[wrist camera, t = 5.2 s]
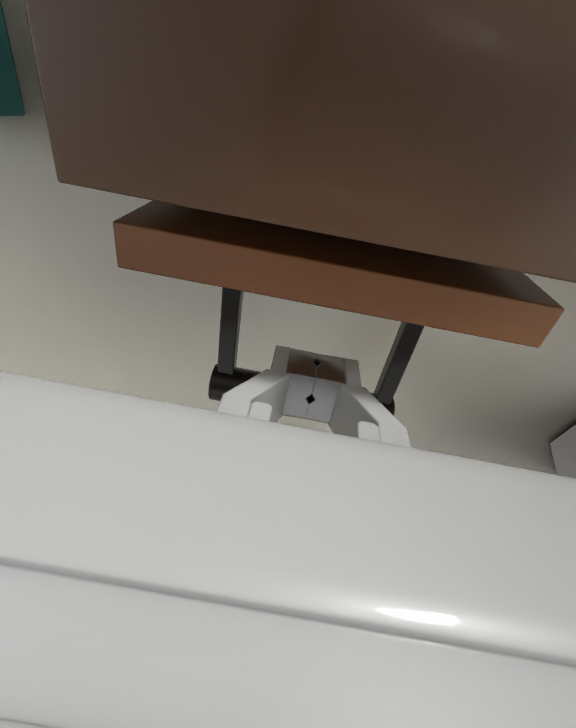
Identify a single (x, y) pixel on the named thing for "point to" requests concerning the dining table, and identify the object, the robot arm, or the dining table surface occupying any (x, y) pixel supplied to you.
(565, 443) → the flask
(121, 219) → the drawer
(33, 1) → the cabinet
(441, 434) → the dining table surface
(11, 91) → the block
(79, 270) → the dining table surface
